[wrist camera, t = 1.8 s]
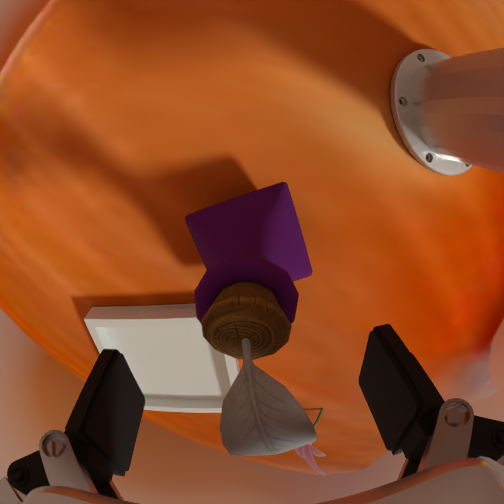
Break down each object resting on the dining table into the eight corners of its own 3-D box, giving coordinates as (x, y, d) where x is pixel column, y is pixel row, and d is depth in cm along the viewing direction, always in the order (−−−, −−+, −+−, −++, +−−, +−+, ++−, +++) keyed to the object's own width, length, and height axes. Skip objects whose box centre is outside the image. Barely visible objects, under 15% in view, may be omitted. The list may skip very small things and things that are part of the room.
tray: (229, 301, 25) (228, 315, 23) (244, 397, 31) (244, 411, 29) (92, 306, 25) (83, 318, 23) (135, 395, 31) (131, 408, 29)
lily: (290, 373, 31) (257, 439, 24) (369, 406, 29) (348, 472, 21) (266, 402, 39) (239, 451, 32) (329, 429, 36) (309, 479, 29)
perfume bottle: (191, 205, 22) (78, 382, 5) (280, 175, 21) (402, 302, 4) (224, 282, 25) (206, 486, 8) (304, 257, 24) (389, 448, 7)
